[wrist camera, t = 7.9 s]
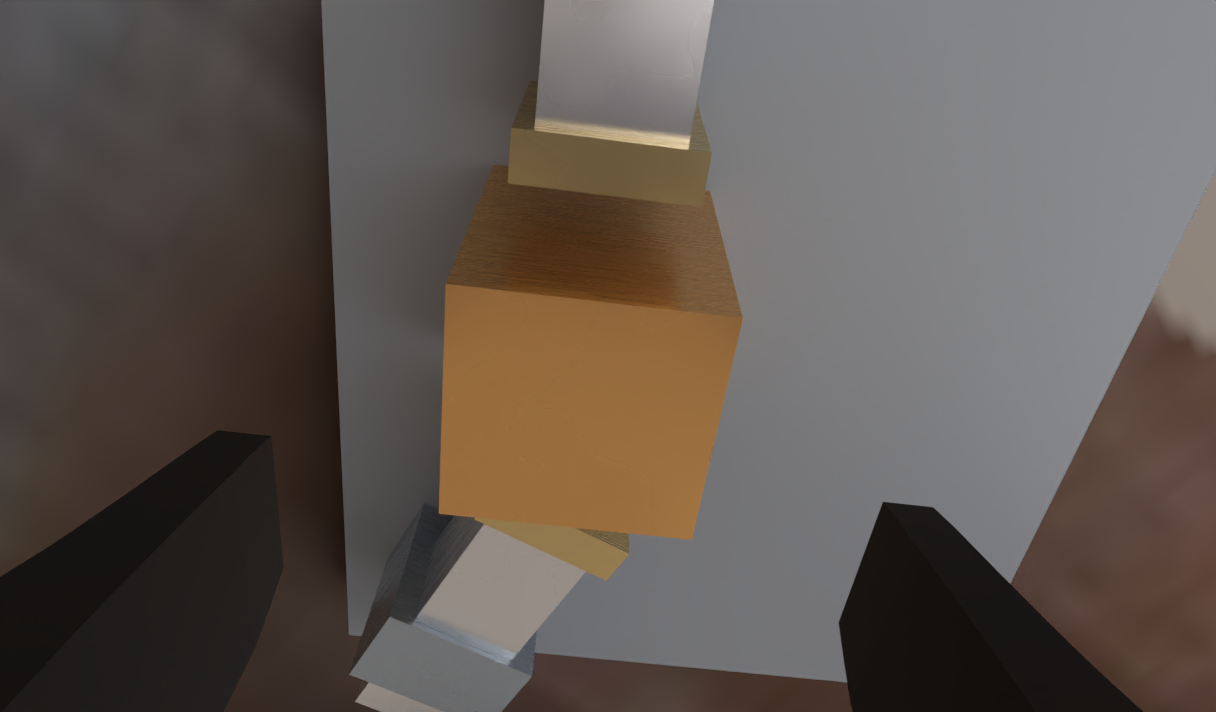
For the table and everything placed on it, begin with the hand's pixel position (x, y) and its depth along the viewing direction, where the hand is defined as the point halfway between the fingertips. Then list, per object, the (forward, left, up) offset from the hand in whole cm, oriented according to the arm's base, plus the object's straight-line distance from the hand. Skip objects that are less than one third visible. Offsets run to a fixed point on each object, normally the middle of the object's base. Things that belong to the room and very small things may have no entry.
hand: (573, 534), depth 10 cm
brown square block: (0, 0, -8) cm, 8 cm away
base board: (-3, 0, -9) cm, 9 cm away
